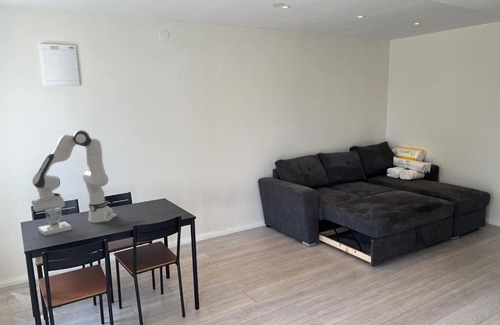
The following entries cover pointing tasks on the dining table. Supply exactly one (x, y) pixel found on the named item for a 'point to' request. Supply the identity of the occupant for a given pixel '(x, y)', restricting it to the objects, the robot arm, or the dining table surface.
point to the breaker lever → (53, 218)
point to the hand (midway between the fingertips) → (51, 213)
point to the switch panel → (54, 228)
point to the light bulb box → (58, 215)
